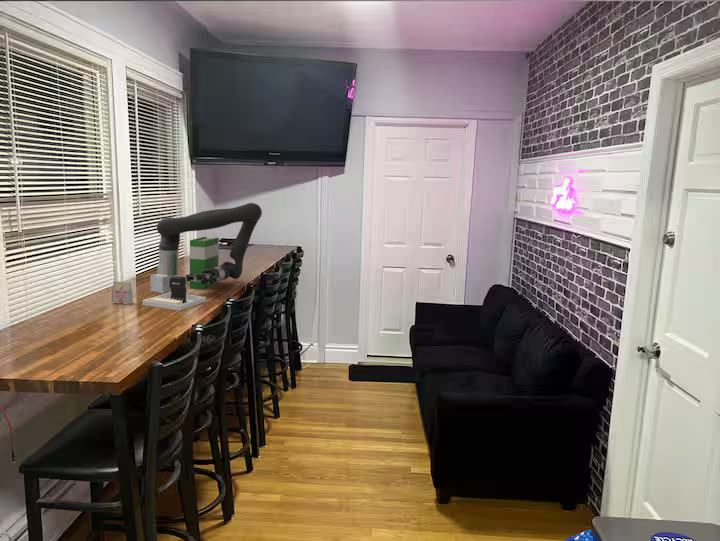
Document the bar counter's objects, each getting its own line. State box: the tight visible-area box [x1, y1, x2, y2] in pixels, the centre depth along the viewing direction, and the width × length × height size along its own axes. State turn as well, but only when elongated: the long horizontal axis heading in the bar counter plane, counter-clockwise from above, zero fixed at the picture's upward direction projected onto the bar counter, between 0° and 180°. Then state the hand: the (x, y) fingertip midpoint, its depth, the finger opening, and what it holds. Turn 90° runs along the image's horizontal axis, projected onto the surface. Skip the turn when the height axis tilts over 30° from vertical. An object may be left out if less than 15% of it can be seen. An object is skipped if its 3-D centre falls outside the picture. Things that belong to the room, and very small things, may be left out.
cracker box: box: [151, 298, 182, 305], centre depth 203 cm, size 12×4×2 cm, turn 74°
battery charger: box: [169, 275, 188, 303], centre depth 210 cm, size 7×4×11 cm, turn 81°
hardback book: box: [189, 236, 220, 291], centre depth 248 cm, size 18×7×24 cm, turn 174°
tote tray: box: [142, 291, 207, 312], centre depth 209 cm, size 18×18×3 cm
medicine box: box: [149, 273, 171, 294], centre depth 228 cm, size 8×4×9 cm, turn 65°
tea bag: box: [111, 281, 134, 305], centre depth 203 cm, size 4×7×10 cm, turn 87°
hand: (193, 280), depth 220 cm, fingers open, 8 cm apart
